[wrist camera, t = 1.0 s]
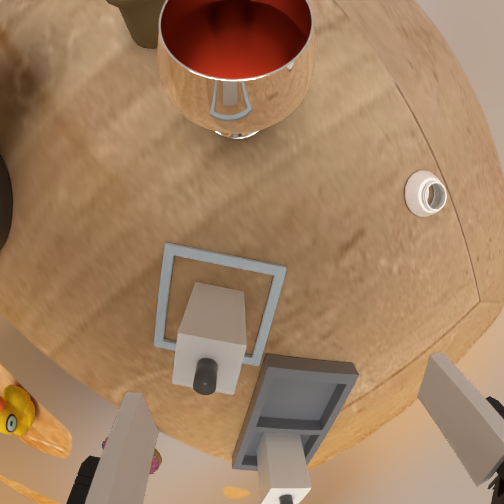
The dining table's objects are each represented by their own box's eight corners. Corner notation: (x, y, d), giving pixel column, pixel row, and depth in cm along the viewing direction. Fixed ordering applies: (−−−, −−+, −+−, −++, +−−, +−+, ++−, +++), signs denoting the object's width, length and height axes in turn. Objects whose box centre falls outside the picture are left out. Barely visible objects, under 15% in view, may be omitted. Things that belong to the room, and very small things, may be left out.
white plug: (256, 449, 37) (261, 518, 25) (264, 429, 36) (272, 504, 24) (288, 451, 37) (300, 518, 26) (299, 432, 36) (315, 503, 24)
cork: (199, 10, 22) (183, -52, 12) (168, 55, 24) (134, 4, 13) (151, -2, 21) (119, -59, 11) (120, 41, 23) (73, -5, 12)
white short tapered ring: (436, 216, 29) (438, 172, 28) (451, 221, 27) (454, 174, 25) (401, 215, 29) (403, 168, 28) (415, 219, 26) (418, 169, 25)
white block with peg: (188, 324, 31) (166, 403, 19) (195, 281, 30) (171, 351, 18) (234, 332, 32) (233, 415, 20) (244, 291, 30) (248, 365, 19)
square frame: (155, 343, 32) (153, 346, 31) (166, 241, 29) (165, 243, 28) (258, 363, 33) (258, 366, 32) (286, 266, 30) (287, 268, 29)
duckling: (6, 362, 33) (-26, 398, 23) (30, 374, 33) (-1, 414, 23) (21, 409, 35) (-3, 444, 26) (44, 420, 36) (21, 458, 26)
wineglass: (298, 99, 26) (380, 15, 8) (246, 166, 27) (261, 160, 10) (228, 53, 24) (218, -72, 7) (176, 118, 26) (88, 53, 8)
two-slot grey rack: (232, 456, 38) (232, 468, 36) (265, 353, 33) (268, 366, 30) (300, 460, 39) (302, 471, 37) (352, 362, 34) (358, 374, 31)
